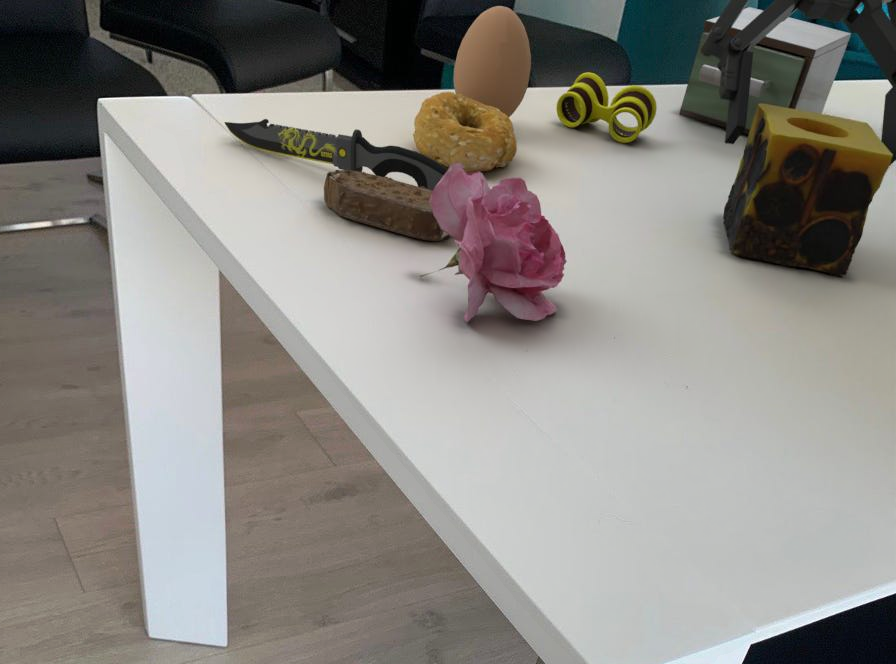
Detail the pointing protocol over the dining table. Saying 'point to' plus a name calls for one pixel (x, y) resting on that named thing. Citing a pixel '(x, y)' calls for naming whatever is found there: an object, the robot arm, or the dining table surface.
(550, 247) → the flower
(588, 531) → the dining table surface
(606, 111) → the opera glasses
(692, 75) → the drawer
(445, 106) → the bagel
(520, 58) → the egg
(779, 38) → the cabinet
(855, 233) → the candle
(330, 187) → the ice cream bar
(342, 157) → the knife
